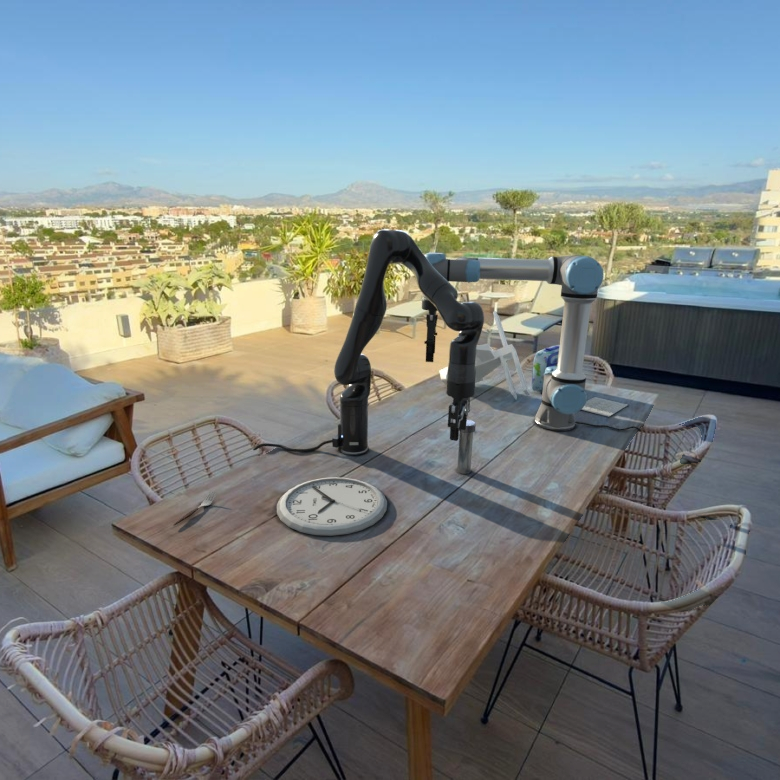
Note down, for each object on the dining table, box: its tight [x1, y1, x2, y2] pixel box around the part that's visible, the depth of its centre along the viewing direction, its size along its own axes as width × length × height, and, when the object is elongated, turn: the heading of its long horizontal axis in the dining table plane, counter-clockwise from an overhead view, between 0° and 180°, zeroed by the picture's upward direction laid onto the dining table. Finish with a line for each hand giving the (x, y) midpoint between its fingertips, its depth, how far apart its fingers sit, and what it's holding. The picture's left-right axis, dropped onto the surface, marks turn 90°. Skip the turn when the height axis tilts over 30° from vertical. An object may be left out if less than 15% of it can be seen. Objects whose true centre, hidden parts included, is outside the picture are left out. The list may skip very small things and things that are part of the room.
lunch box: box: [531, 344, 560, 393], centre depth 246 cm, size 26×11×21 cm, turn 135°
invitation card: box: [580, 396, 629, 418], centre depth 226 cm, size 21×1×15 cm
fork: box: [173, 490, 218, 526], centre depth 138 cm, size 3×16×2 cm, turn 160°
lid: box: [459, 419, 476, 433], centre depth 160 cm, size 5×5×2 cm
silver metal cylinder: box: [456, 431, 474, 475], centre depth 162 cm, size 4×4×16 cm
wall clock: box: [276, 476, 388, 537], centre depth 142 cm, size 30×2×30 cm
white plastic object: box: [438, 310, 531, 400], centre depth 245 cm, size 37×45×31 cm
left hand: (458, 434), depth 144 cm, fingers open, 8 cm apart
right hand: (430, 357), depth 190 cm, fingers open, 13 cm apart
